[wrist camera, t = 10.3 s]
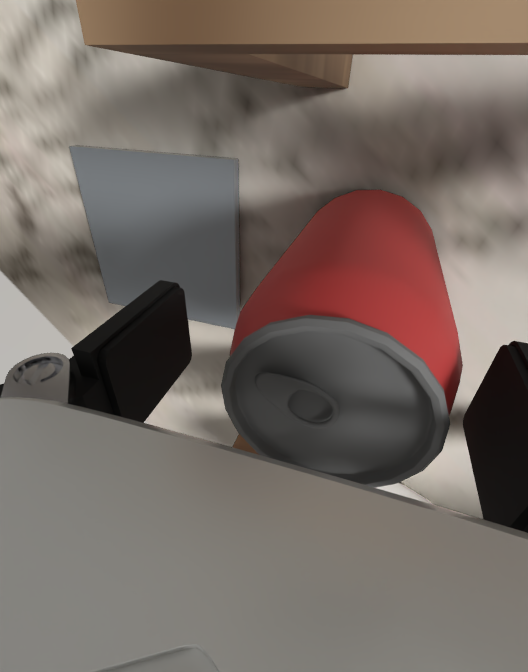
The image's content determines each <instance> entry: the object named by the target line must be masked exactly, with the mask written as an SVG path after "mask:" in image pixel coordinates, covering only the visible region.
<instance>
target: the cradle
mask: <svg viewBox="0 0 528 672" xmlns="http://www.w3.org/2000/svg"><path fill="white" fill-rule="evenodd" d="M76 3H77V8H78V13H79V18H80V23H81V28H82V33H83V38H84V43H85V45H88V46H93V47H98V48H104V49H109V50H114V51H119V52H124V53H129V54H135V55H140V56H145V57H150V58H155V59H160V60H166V61H171V62H176V63H181V64H186V65H191V66H197V67H202V68H207V69H212V70H217V71H222V72H228V73H233V74H238V75H243V76H248V77H253V78H259V79H264V80H269V81H274V82H279V83H284V84H290V85H295V86H300V87H326V88H348V85H349V78H350V71H351V63H352V56H353V54H416V55H528V0H76ZM233 448H236V449H240V450H243V451H247V452H250V453H254V454H258V453H257V452H256V451H255V450H254V449H253V448H252V447H251V446H250V445H249V444H248V443H247V442H246V440H245V439H244V438H243V437H242V436H241V435H240V434H239V435H238V437H237V439H236V441H235V443H234V445H233ZM258 455H259V454H258Z"/></svg>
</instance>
